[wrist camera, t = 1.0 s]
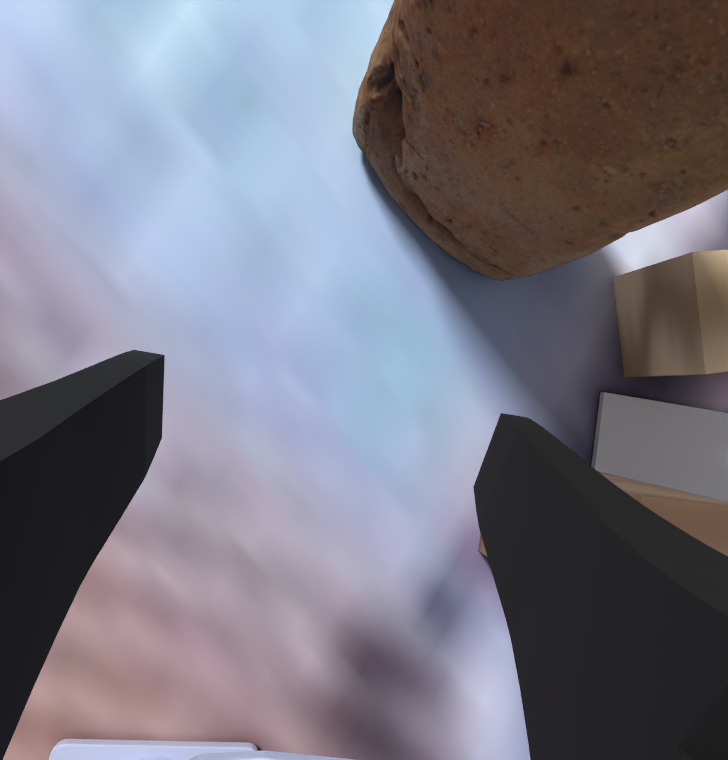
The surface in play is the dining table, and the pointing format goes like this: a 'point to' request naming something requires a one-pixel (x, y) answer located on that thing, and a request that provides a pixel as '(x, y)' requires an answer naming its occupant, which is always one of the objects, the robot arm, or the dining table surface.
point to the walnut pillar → (678, 511)
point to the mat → (663, 444)
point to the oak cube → (675, 316)
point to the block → (545, 122)
